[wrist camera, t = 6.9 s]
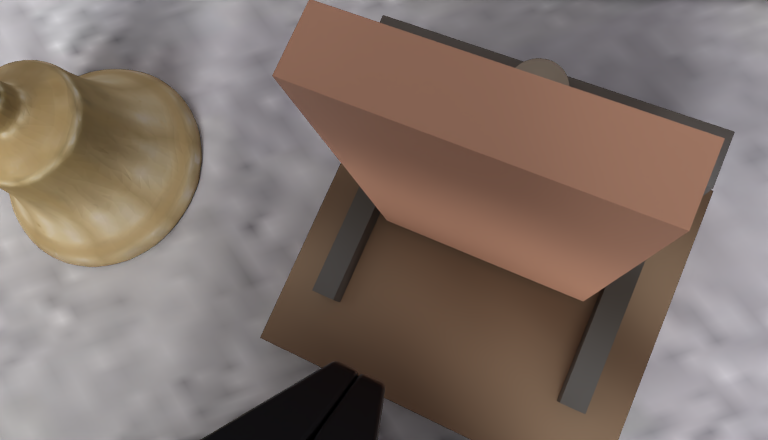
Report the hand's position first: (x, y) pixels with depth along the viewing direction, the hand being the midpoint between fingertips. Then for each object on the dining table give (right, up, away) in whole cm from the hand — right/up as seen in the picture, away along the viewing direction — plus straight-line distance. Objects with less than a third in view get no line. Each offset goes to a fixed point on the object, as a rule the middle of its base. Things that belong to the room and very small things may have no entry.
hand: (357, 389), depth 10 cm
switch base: (+4, +1, +14) cm, 14 cm away
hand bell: (-11, +5, +17) cm, 21 cm away
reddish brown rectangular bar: (+4, +2, +12) cm, 13 cm away
